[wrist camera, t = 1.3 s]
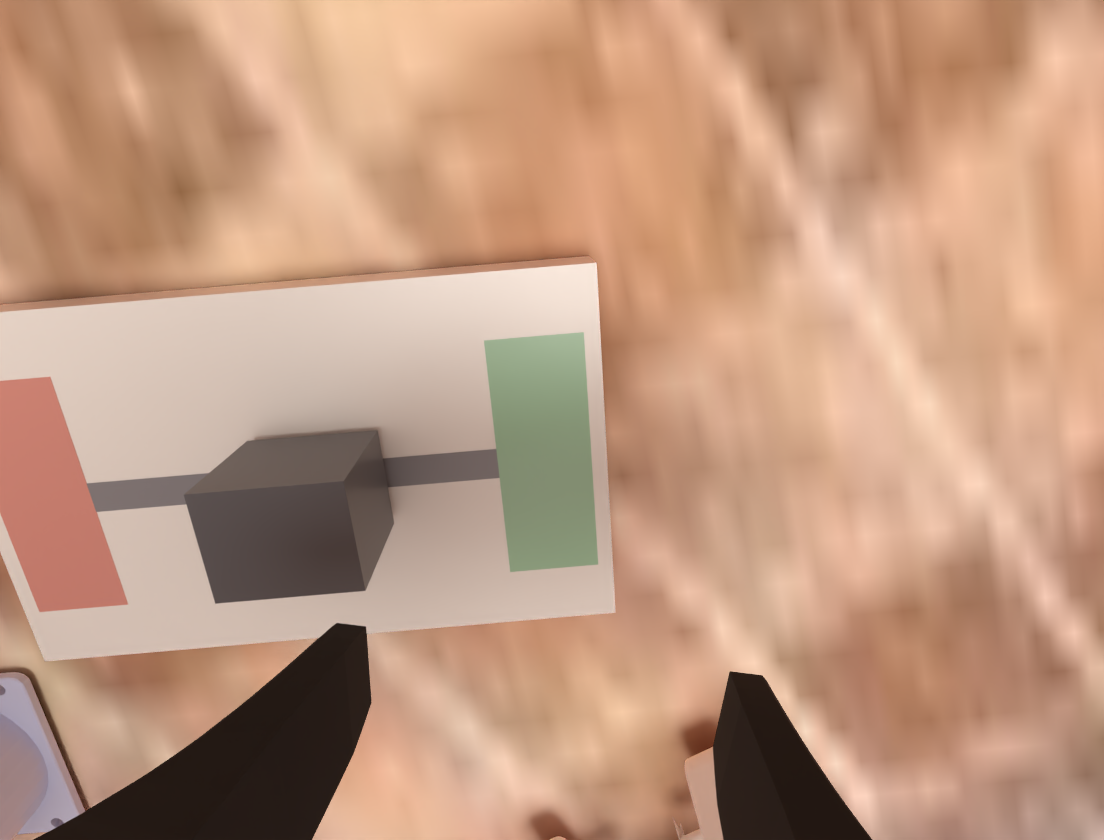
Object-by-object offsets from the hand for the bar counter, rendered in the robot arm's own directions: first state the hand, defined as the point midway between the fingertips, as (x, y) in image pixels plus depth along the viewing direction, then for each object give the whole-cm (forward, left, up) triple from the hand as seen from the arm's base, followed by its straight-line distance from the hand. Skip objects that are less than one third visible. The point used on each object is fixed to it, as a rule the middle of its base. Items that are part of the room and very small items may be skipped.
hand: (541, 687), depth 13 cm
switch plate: (-8, +1, -11) cm, 14 cm away
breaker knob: (-7, +1, -8) cm, 11 cm away
